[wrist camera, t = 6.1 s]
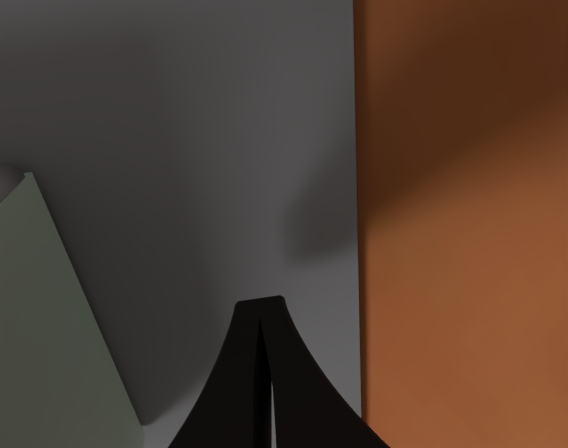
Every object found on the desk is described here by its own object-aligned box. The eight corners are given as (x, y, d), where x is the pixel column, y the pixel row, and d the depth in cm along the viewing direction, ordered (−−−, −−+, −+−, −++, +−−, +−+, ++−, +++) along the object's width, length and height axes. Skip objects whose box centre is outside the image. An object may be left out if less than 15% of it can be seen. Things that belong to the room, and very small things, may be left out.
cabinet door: (164, 432, 18) (140, 598, 13) (119, 438, 18) (79, 608, 13) (56, 152, 11) (-64, 284, 7) (-15, 160, 11) (-184, 299, 7)
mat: (360, 481, 22) (362, 489, 22) (-39, 544, 22) (-43, 553, 21) (343, -229, 9) (348, -237, 8) (-722, -109, 8) (-763, -112, 8)
